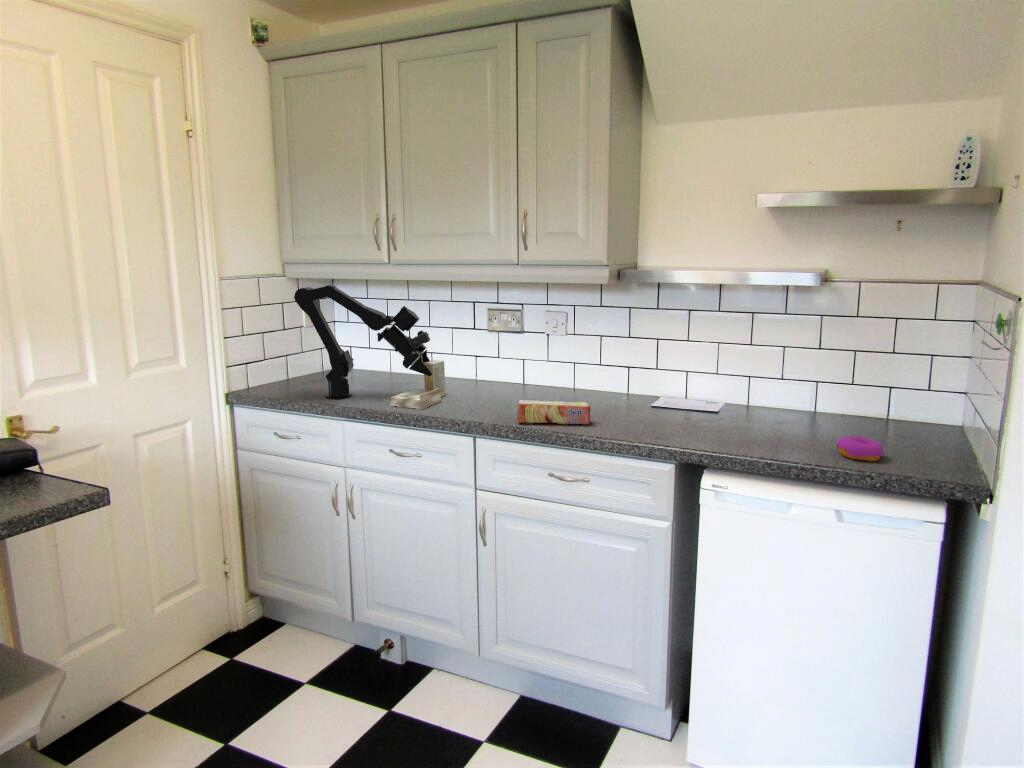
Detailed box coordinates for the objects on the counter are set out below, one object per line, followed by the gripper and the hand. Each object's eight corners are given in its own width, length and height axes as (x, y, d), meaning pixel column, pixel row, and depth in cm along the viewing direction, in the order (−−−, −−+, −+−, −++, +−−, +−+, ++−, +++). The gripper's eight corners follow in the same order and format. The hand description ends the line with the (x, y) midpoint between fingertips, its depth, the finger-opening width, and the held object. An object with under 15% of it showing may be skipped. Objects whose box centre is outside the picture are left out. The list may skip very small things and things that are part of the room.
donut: (884, 465, 164) (886, 446, 163) (837, 460, 168) (838, 442, 167) (879, 452, 173) (881, 435, 172) (834, 448, 177) (836, 431, 176)
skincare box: (436, 394, 243) (435, 359, 241) (446, 395, 241) (445, 360, 238) (424, 397, 238) (423, 362, 235) (433, 399, 235) (432, 363, 233)
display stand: (390, 406, 225) (390, 392, 224) (409, 398, 236) (408, 385, 235) (423, 409, 221) (422, 395, 220) (440, 401, 232) (440, 388, 231)
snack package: (590, 421, 206) (590, 399, 204) (590, 427, 199) (590, 404, 198) (518, 419, 208) (518, 397, 207) (516, 425, 202) (516, 402, 201)
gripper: (410, 327, 225) (446, 360, 227) (419, 320, 243) (451, 351, 245) (387, 351, 227) (423, 384, 229) (397, 343, 245) (430, 374, 247)
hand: (433, 372), depth 238 cm, fingers open, 9 cm apart
